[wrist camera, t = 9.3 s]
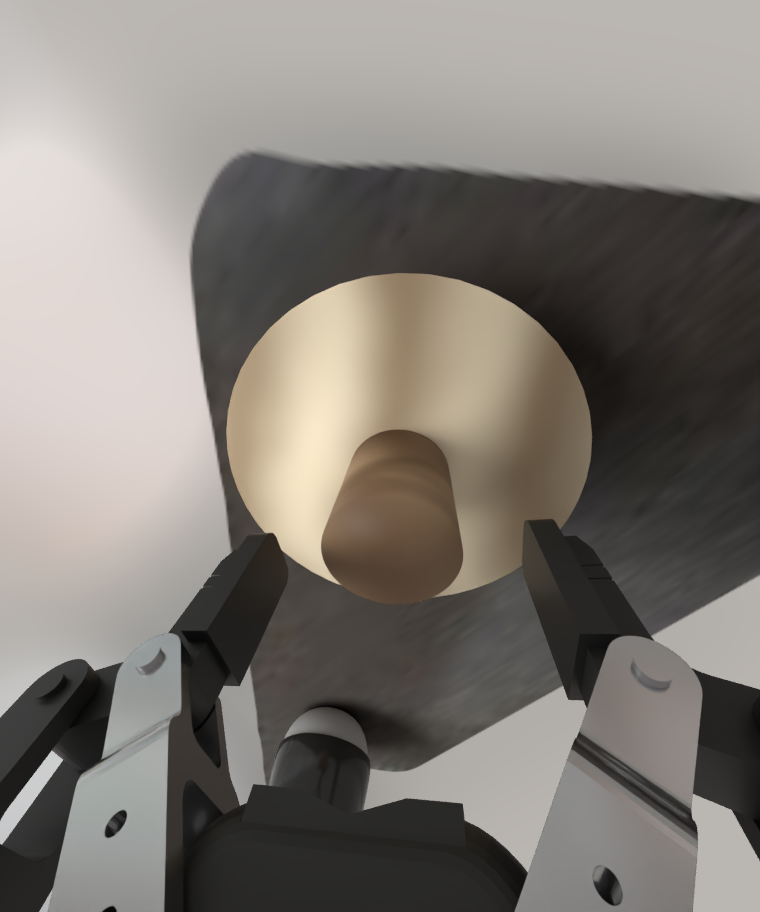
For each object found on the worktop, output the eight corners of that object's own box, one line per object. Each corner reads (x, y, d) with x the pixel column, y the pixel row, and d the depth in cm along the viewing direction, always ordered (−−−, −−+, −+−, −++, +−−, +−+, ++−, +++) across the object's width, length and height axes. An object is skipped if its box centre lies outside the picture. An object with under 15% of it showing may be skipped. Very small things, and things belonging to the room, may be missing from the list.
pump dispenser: (367, 747, 41) (342, 974, 27) (286, 729, 41) (221, 946, 27) (384, 707, 36) (365, 957, 22) (293, 685, 36) (219, 923, 22)
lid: (606, 232, 11) (789, 177, 5) (564, 579, 18) (626, 702, 12) (182, 313, 13) (27, 329, 8) (290, 587, 20) (245, 693, 15)
